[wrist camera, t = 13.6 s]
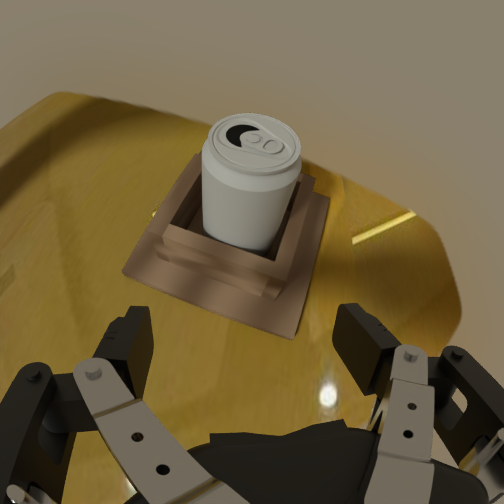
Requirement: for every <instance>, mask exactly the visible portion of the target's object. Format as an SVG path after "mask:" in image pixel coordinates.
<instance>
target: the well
mask: <svg viewBox="0 0 504 504" xmlns="http://www.w3.org/2000/svg"><path fill="white" fill-rule="evenodd" d="M315 179H316V178H314V177H312V176H309V175H306V174H303V173H301V172H300V173H299V176H298V179H297V181H296V184H295V187H294V190H293V192H292V195H291V198H290V200H289V203H288V206H287V208H286V211H285V213H284V216H283V219H282V221H281V224H280V227H279V229H278V232H277V235H276V237H275V240H274V242H273V245H272V247H271V249H270V251H269V253H268V254H267V255H266V256H265V257H264V258H263V257H260V256H257V255H255V254H252V253H249V252H246V251H243V250H241V249H238V248H235V247H232V246H230V245H227V244H224V243H221V242H219V241H216V240H213V239H210V238H207V237H205V236H203V207H202V150H201V152H200V153H199V154H195V155H194V157H193V158H192V159H191V161H190V162H189V164H188V165H187V166H186V168H185V169H184V171H183V172H182V174H181V175H180V177H179V178H178V180H177V181H176V183H175V184H174V186H173V187H172V189H171V190H170V192H169V193H168V195H167V196H166V198H165V199H164V201H163V202H162V204H161V206H160V207H159V209H158V210H157V212H156V213H155V215H154V217H153V218H152V220H151V222H150V223H149V225H148V226H147V228H146V230H145V231H144V233H143V235H142V237H141V238H140V240H139V242H138V243H137V245H136V247H135V249H134V250H133V252H132V254H131V256H130V257H129V259H128V261H127V263H126V265H125V266H124V268H123V270H122V273H123V274H124V275H125V276H127V277H129V278H132V279H134V280H136V281H138V282H141V283H143V284H145V285H147V286H150V287H152V288H154V289H157V290H159V291H161V292H164V293H166V294H168V295H171V296H173V297H176V298H178V299H180V300H183V301H185V302H188V303H190V304H193V305H195V306H198V307H200V308H203V309H205V310H208V311H211V312H213V313H216V314H218V315H221V316H224V317H226V318H229V319H232V320H234V321H237V322H240V323H243V324H245V325H248V326H251V327H254V328H257V329H259V330H262V331H265V332H268V333H271V334H274V335H277V336H280V337H283V338H286V339H289V340H292V339H294V336H295V332H296V329H297V326H298V322H299V319H300V315H301V312H302V308H303V305H304V301H305V297H306V294H307V290H308V286H309V283H310V279H311V275H312V271H313V267H314V263H315V259H316V255H317V251H318V247H319V243H320V239H321V235H322V230H323V226H324V222H325V217H326V213H327V208H328V204H329V199H330V198H328V197H326V196H323V195H320V194H318V193H315V192H312V190H313V187H314V183H315Z"/></svg>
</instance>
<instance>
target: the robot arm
mask: <svg viewBox="0 0 504 504" xmlns="http://www.w3.org/2000/svg"><path fill="white" fill-rule="evenodd" d="M332 342H333V346H334V348H335V350H336V351H337V353H338V354H339V356H340V358H341V359H342V361H343V362H344V364H345V366H346V367H347V369H348V370H349V372H350V374H351V375H352V377H353V378H354V380H355V382H356V383H357V385H358V386H359V388H360V390H361V391H362V393H363V394H364V396H367V395H371V394H375V393H376V395H377V397H376V399H375V401H374V405H373V408H372V412H371V415H370V419H369V422H368V425H367V428H366V430H365V429H359V428H347V426H346V424H345V422H344V420H343V419H341V420H336V421H331V422H326V423H320V424H314V425H311V426H309V427H306V428H303V429H301V430H298V431H295V432H292V433H290V434H287V435H283V436H274V435H263V434H254V433H246V432H241V433H210V443H206V444H202V445H199V446H196V447H194V448H191V449H189V450H187V451H186V450H185V449H184V448H183V447H182V446H181V445H180V444H179V443H178V441H177V440H176V439H175V438H174V437H173V436H172V435H171V434H170V433H169V431H168V430H167V429H166V428H165V427H164V426H163V425H162V423H161V422H160V421H159V420H158V419H157V417H156V416H155V415H154V414H153V412H152V411H151V410H150V409H149V408H148V406H147V405H146V404H145V402H144V401H143V400H142V398H143V393H144V389H145V385H146V380H147V376H148V372H149V367H150V363H151V359H152V355H153V349H154V341H153V333H152V326H151V318H150V310H149V307H148V306H130V307H129V309H128V311H127V313H126V315H125V317H118V318H116V319H115V320H114V321H113V322H111V323H110V325H109V326H108V328H107V330H106V332H105V334H104V336H103V338H102V340H101V342H100V343H99V345H98V347H97V349H96V351H95V353H94V355H93V357H92V358H89V359H86V360H83V361H81V362H80V363H78V364H77V365H76V367H75V368H74V371H73V373H67V374H54V375H53V373H52V371H51V369H50V367H49V366H48V365H47V364H45V363H41V362H34V363H30V364H27V365H26V366H24V367H23V368H21V369H20V371H19V372H18V374H17V375H16V377H15V379H14V380H13V382H12V384H11V386H10V387H9V389H8V391H7V393H6V394H5V396H4V398H3V400H2V402H1V403H0V504H61V501H62V496H63V490H64V485H65V480H66V475H67V470H68V466H69V462H70V457H71V453H72V449H73V445H74V441H75V438H76V434H77V432H85V431H96V430H98V431H99V433H100V435H101V437H102V439H103V440H104V442H105V444H106V446H107V447H108V449H109V451H110V452H111V454H112V455H113V457H114V459H115V460H116V462H117V463H118V465H119V467H120V468H121V470H122V471H123V473H124V474H125V476H126V477H127V479H128V480H129V482H130V483H131V484H132V486H133V487H134V489H135V490H136V491H137V493H136V494H135V495H133V496H132V497H131V498H130V499H129V500H127V501H126V502H125V503H124V504H492V503H494V502H495V501H497V500H498V499H499V498H500V497H502V496H503V495H504V389H503V388H502V386H501V385H500V384H499V383H498V382H497V381H496V380H495V379H494V378H493V377H492V376H491V375H490V374H489V373H488V372H487V371H486V370H485V369H484V368H483V367H482V366H481V365H480V364H479V363H478V362H477V361H476V360H475V359H474V358H473V357H472V356H471V355H470V354H469V353H468V352H467V351H465V350H464V349H462V348H460V347H457V346H447V347H445V348H444V349H443V351H442V353H441V356H440V357H427V354H426V353H425V352H424V351H423V350H422V349H420V348H418V347H416V346H413V345H402V344H401V343H400V342H399V341H398V340H397V339H396V338H395V337H394V336H393V335H392V334H391V332H390V331H389V330H388V331H387V328H386V327H385V326H384V325H382V323H381V322H380V321H379V320H378V319H377V318H376V317H374V316H372V315H370V314H369V313H366V312H365V311H364V310H363V309H362V308H361V307H360V306H359V304H357V303H349V304H340V305H339V307H338V311H337V315H336V320H335V325H334V330H333V335H332ZM457 388H458V389H459V390H460V391H461V392H462V394H463V395H464V396H465V397H466V399H467V404H468V405H467V408H466V411H465V412H464V413H463V412H462V411H461V410H460V408H459V407H458V406H457V404H456V403H455V402H454V401H453V399H452V398H451V397H452V396H453V394H454V392H455V390H456V389H457ZM433 427H434V429H435V430H436V432H437V434H438V435H439V436H440V438H441V440H442V441H443V442H444V444H445V446H446V448H447V449H448V451H449V452H450V454H451V456H452V457H453V459H454V460H455V462H456V463H457V465H458V467H459V469H457V468H455V467H452V466H449V465H447V464H444V463H442V462H439V461H437V460H434V459H432V458H431V449H432V438H433Z"/></svg>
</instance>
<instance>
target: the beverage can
mask: <svg viewBox="0 0 504 504" xmlns="http://www.w3.org/2000/svg"><path fill="white" fill-rule="evenodd" d="M300 151H301V144H300V141H299V138H298V136H297V135H296V134H295V132H294V131H293V130H292V129H291V128H290V127H289V126H287V125H286V124H284V123H283V122H281V121H279V120H277V119H275V118H272V117H269V116H266V115H261V114H255V113H240V114H235V115H231V116H227V117H225V118H223V119H221V120H219V121H218V122H217V123H215V124H214V125H213V127H212V128H211V129H210V131H209V135H208V139H207V140H206V142H205V143H204V145H203V148H202V207H203V236H205V237H207V238H210V239H213V240H216V241H219V242H221V243H224V244H227V245H230V246H232V247H235V248H238V249H241V250H243V251H246V252H249V253H252V254H255V255H257V256H260V257H263V258H264V257H265V256H266V255H267V254H268V253H269V251H270V249H271V247H272V245H273V242H274V240H275V237H276V235H277V232H278V229H279V227H280V224H281V221H282V219H283V216H284V213H285V211H286V208H287V206H288V203H289V200H290V198H291V195H292V192H293V190H294V187H295V184H296V181H297V179H298V176H299V173H300V171H301V167H302V160H301V155H300Z"/></svg>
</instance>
